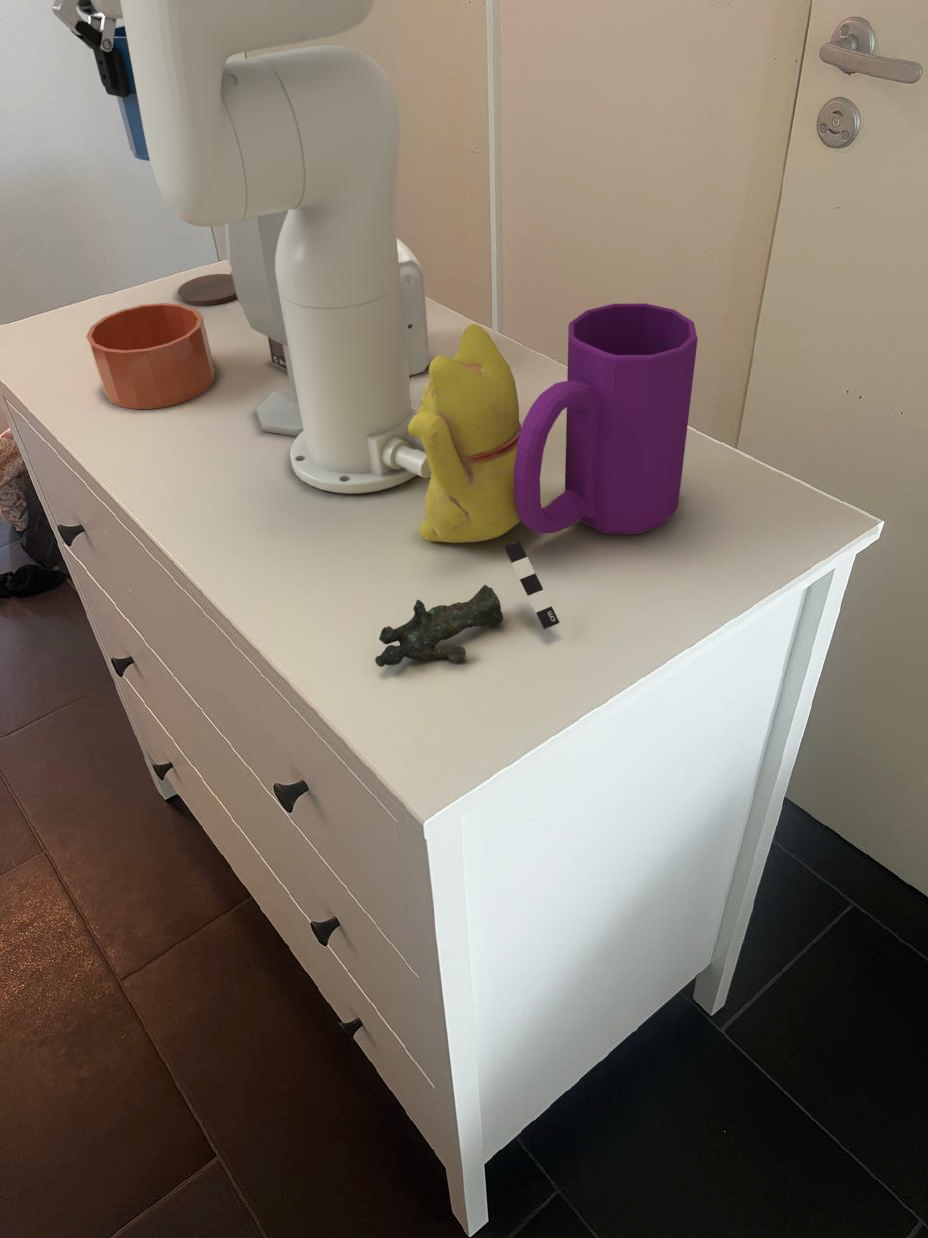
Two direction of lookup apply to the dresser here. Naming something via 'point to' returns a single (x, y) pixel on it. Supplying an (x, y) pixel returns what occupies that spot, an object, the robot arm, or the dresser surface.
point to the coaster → (208, 290)
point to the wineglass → (263, 307)
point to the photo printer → (413, 310)
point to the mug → (613, 422)
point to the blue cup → (130, 100)
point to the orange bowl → (152, 355)
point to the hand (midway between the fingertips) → (150, 84)
